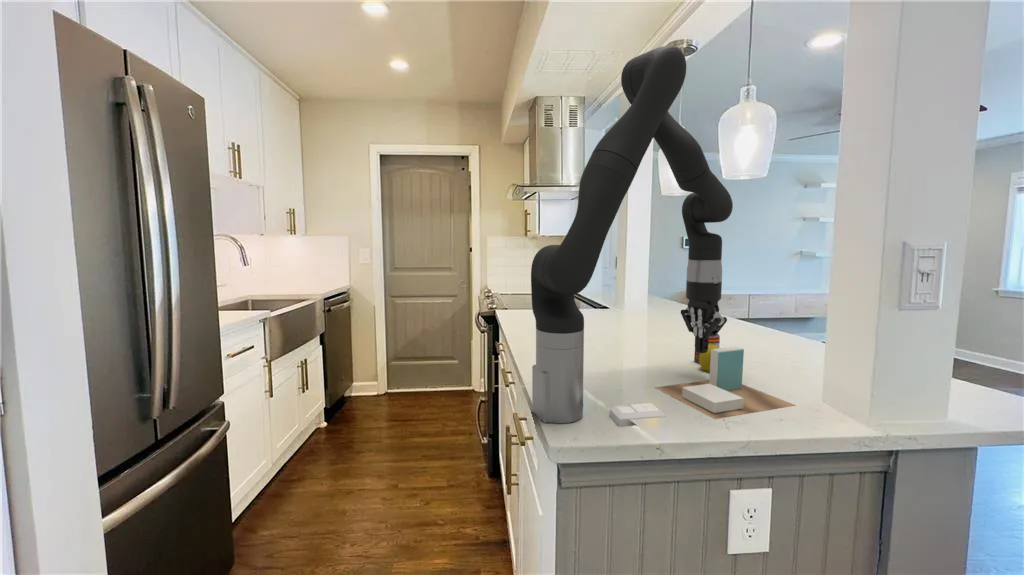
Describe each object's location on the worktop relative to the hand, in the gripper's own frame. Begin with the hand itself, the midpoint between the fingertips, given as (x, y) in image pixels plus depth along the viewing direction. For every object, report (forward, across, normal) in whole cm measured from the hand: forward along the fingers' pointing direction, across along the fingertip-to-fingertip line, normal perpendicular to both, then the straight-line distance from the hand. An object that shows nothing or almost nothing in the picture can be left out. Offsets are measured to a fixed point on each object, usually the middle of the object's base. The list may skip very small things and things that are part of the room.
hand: (701, 352), depth 103 cm
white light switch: (+8, +13, -26) cm, 30 cm away
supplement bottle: (+8, -10, +11) cm, 17 cm away
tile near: (+5, +9, -9) cm, 14 cm away
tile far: (+6, +8, 0) cm, 10 cm away
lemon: (+8, -4, +7) cm, 11 cm away
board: (+7, +11, -4) cm, 14 cm away
